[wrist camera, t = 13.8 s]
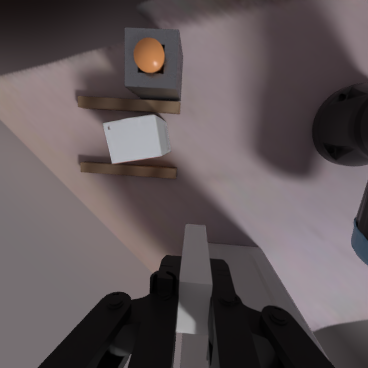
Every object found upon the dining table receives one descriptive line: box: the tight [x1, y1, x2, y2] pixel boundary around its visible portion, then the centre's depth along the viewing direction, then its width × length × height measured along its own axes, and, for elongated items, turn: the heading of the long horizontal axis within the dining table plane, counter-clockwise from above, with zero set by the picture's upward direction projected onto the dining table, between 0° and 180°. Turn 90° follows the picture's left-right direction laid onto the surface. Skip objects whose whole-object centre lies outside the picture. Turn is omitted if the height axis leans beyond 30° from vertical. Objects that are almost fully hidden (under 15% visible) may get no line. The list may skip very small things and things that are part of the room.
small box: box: [103, 114, 171, 164], centre depth 37 cm, size 8×6×13 cm
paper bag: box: [180, 243, 330, 368], centre depth 35 cm, size 19×15×28 cm
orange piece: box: [134, 38, 165, 74], centre depth 33 cm, size 4×4×7 cm
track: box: [78, 96, 180, 179], centre depth 43 cm, size 20×15×2 cm
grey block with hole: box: [125, 28, 183, 101], centre depth 36 cm, size 8×8×10 cm
